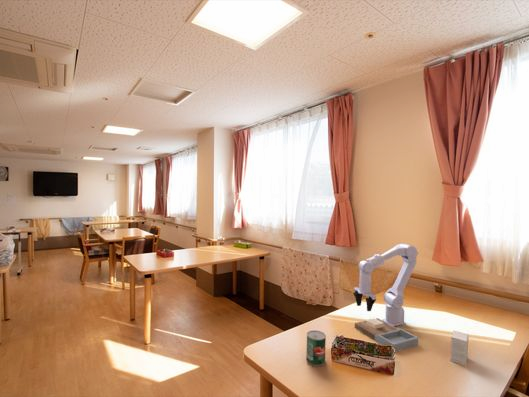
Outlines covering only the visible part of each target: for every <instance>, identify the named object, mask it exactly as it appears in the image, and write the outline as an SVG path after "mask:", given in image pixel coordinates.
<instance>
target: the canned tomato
mask: <svg viewBox="0 0 529 397" xmlns="http://www.w3.org/2000/svg"><path fill="white" fill-rule="evenodd" d="M326 338H327V336H326V334H325V333H324V332H323V331H320V330H309V331H308V332H307V333H306V353H305V354H306V358H305V360H306V363H307V364H309V365H312V366H315V367H321V366H324V365H325V363H326Z"/></svg>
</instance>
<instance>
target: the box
mask: <svg viewBox="0 0 529 397" xmlns="http://www.w3.org/2000/svg"><path fill="white" fill-rule="evenodd" d="M374 341H375V342H377V343H378V344H379V345H381V344H382V345H381V346H383V345H392V346H393V348H394V349H395V352H394V353H396V352H400V351H403V350H406V349H410V348H413V347H417V346H419V337H418V336H416V335H414V334H412V333H410V332H408V331H406V330H404V329H402V328H399V330H395V331H391V332H387V333H383V334H377V335H375V340H374Z"/></svg>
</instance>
